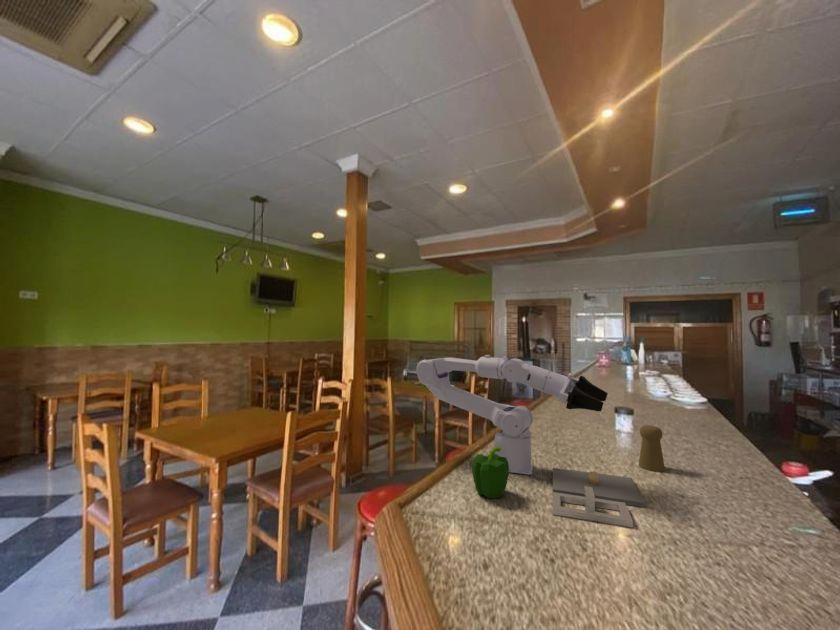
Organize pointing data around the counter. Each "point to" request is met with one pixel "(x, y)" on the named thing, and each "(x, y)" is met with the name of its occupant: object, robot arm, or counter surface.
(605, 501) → the double window frame
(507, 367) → the robot arm
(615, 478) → the plate
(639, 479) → the counter surface
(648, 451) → the cork
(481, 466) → the bell pepper
